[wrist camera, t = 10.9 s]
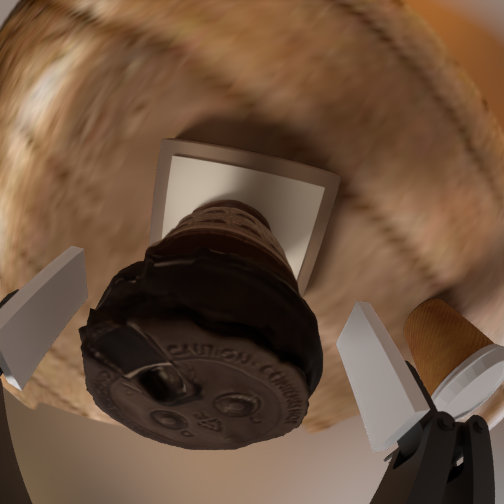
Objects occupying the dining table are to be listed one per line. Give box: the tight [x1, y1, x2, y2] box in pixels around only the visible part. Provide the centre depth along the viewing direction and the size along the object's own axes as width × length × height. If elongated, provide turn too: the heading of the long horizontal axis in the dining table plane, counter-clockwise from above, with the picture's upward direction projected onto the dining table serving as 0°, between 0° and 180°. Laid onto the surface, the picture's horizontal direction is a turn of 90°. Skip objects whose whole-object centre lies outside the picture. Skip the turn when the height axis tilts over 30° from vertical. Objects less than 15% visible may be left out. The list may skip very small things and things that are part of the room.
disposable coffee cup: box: [404, 298, 504, 422], centre depth 20 cm, size 10×10×12 cm
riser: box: [149, 138, 342, 298], centre depth 20 cm, size 12×12×3 cm
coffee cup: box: [78, 200, 323, 450], centre depth 13 cm, size 9×8×13 cm
